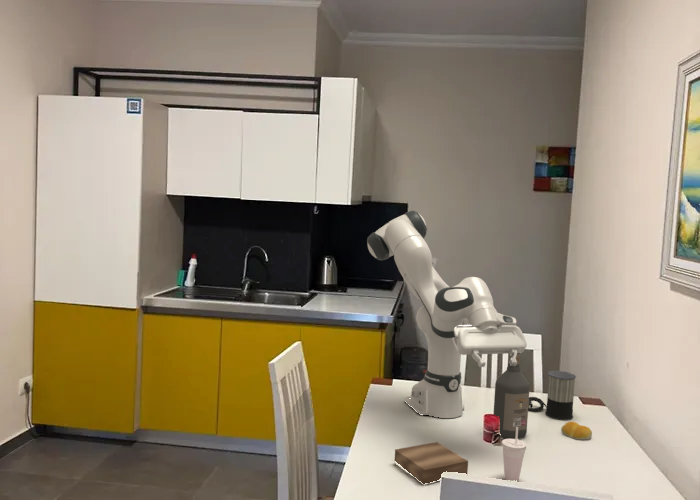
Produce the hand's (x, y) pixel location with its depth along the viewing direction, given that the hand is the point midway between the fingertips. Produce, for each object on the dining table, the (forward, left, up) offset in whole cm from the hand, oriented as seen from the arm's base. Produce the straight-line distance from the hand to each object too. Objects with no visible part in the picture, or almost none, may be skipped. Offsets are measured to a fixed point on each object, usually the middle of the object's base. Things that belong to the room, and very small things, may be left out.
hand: (498, 365), depth 176 cm
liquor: (-12, +17, -27) cm, 34 cm away
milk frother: (-22, +44, -27) cm, 56 cm away
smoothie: (+13, -5, -27) cm, 30 cm away
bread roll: (-3, +37, -27) cm, 46 cm away
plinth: (0, -22, -27) cm, 34 cm away
